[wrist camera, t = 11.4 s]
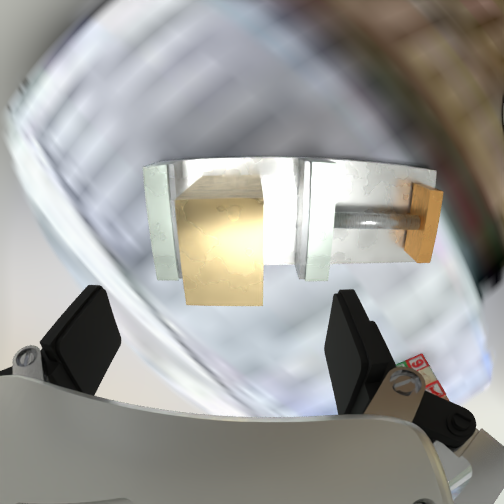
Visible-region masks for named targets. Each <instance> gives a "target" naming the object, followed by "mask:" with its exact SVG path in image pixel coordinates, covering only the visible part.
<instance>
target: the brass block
mask: <svg viewBox="0 0 504 504" xmlns="http://www.w3.org/2000/svg"><path fill="white" fill-rule="evenodd" d="M175 212H176V223H177V233H178V243H179V252H180V260H181V269H182V276H183V284H184V291H185V298H186V305H204V306H263V255H264V195H263V189H262V184H261V178H260V175H217V176H201V177H200V178H199V179H198V180H196V181H195V182H194V183H193V184H192V185H191V186H190V187H188V188H187V189H186V190H185V191H184V192H183V193H182V194H181V195H179V196H178V197H177V198H176V199H175Z"/></svg>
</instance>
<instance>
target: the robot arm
mask: <svg viewBox="0 0 504 504" xmlns="http://www.w3.org/2000/svg"><path fill="white" fill-rule="evenodd" d="M503 123H504V105H503ZM40 344H41V346H42V350H41V351H40V349H39V348H38V347H36V346H32V345H30V346H26V347H24V348H22V349H20V350H19V351H18V352H17V353H16V354H15V356H14V358H13V366H12V367H10V368H7V369H5V370H2V371H0V504H494V502H495V501H496V499H497V498H498V496H499V495H500V493H501V492H502V490H503V488H504V446H503V445H501V444H500V443H499V442H498V441H497V440H495V439H494V438H493V437H492V436H491V435H489V434H488V433H487V432H486V431H484V430H483V429H481V430H480V431H479V430H478V429H476V421H475V418H474V416H473V414H472V413H471V412H470V411H469V410H467V409H465V408H463V407H461V406H459V405H457V404H454V403H452V402H450V401H448V400H445V399H443V398H441V397H439V396H437V395H434V394H432V393H430V392H428V391H426V390H425V387H426V383H425V379H424V378H423V376H422V375H421V374H420V373H419V372H418V371H416V370H415V369H413V368H409V367H396V364H395V362H394V360H393V358H392V356H391V354H390V351H389V349H388V347H387V345H386V343H385V341H384V339H383V337H382V335H381V333H380V331H379V329H378V327H377V325H376V323H375V322H374V321H370V320H369V318H368V316H367V314H366V312H365V310H364V308H363V306H362V304H361V302H360V300H359V298H358V296H357V294H356V292H355V291H354V290H353V289H349V290H339V292H338V294H334V296H333V302H332V308H331V314H330V319H329V325H328V330H327V336H326V341H325V347H324V351H325V356H326V361H327V365H328V369H329V374H330V378H331V382H332V387H333V391H334V396H335V401H336V405H337V410H338V415H325V416H308V417H234V416H217V415H205V414H194V413H184V412H176V411H169V410H162V409H155V408H149V407H144V406H138V405H133V404H128V403H123V402H118V401H114V400H109V399H105V398H101V397H97V396H94V395H95V393H96V391H97V389H98V387H99V385H100V383H101V381H102V379H103V377H104V375H105V373H106V371H107V369H108V367H109V366H110V364H111V362H112V360H113V358H114V356H115V354H116V352H117V351H118V349H119V347H120V345H121V336H120V333H119V330H118V328H117V325H116V322H115V319H114V316H113V312H112V309H111V306H110V303H109V299H108V296H107V293H106V290H105V289H103V288H102V286H100V285H88V286H87V287H86V288H85V289H84V290H83V292H82V293H81V294H80V295H79V296H78V297H77V298H76V299H75V301H74V302H73V303H72V304H71V305H70V306H69V307H68V308H67V310H66V311H65V312H64V313H63V314H62V315H61V317H60V318H59V319H58V320H57V321H56V323H55V324H54V325H53V326H52V328H51V329H50V330H49V331H48V332H47V334H46V335H45V336H44V337H43V339H42V340H41V341H40ZM448 482H449V483H448Z"/></svg>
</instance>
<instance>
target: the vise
mask: <svg viewBox="0 0 504 504" xmlns="http://www.w3.org/2000/svg"><path fill="white" fill-rule="evenodd" d="M299 158H302V159H325V160H330V161H333V162H335V163H338V172H337V190H336V205H335V212H353V213H382V214H404V215H410V211H411V203H412V196H413V187H414V183H416V184H425V185H428V186H431V187H433V188H435V182H436V172H437V171H435V170H432V169H428V168H421V167H414V166H407V165H399V164H391V163H382V162H372V161H362V160H349V159H335V158H317V157H286V156H242V157H211V158H193V159H178V160H166V161H159V162H156V163H153V164H150V165H147V166H144V167H143V177H144V188H145V198H146V207H147V215H148V223H149V231H150V238H151V245H152V251H153V257H154V263H155V269H156V275H157V280H175V281H179V279H180V278H183V276H182V269H181V260H180V252H179V243H178V233H177V223H176V212H175V199H176V198H177V197H178V196H179V195H181V194H182V193H183V192H184V191H185V190H186V189H187V188H188V187H190V186H191V185H192V184H193V183H194V182H195V181H196V180H198V179H199V178H200V177H201V176H217V175H260V178H261V184H262V189H263V195H264V255H263V265H295V259H296V240H297V219H298V191H299ZM406 236H407V230H398V229H333V240H332V250H331V259H330V264H353V263H394V262H416V261H415V260H414V259H413V258H412V257H410V256H409V255H408V254H407V253H406V252H405V251H404V247H405V241H406Z"/></svg>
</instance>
